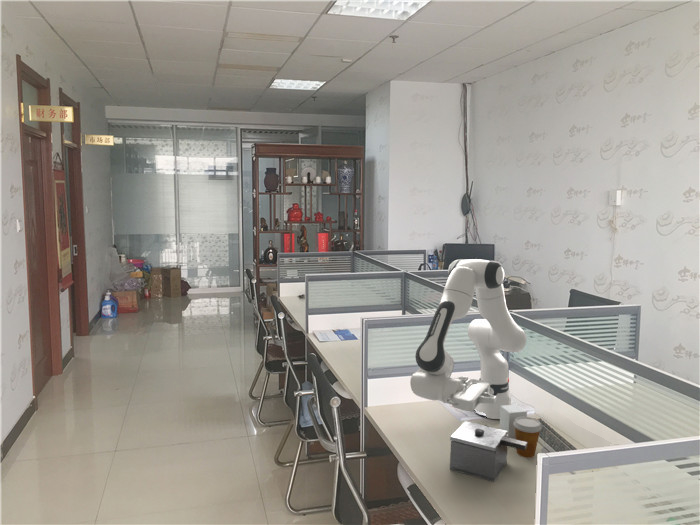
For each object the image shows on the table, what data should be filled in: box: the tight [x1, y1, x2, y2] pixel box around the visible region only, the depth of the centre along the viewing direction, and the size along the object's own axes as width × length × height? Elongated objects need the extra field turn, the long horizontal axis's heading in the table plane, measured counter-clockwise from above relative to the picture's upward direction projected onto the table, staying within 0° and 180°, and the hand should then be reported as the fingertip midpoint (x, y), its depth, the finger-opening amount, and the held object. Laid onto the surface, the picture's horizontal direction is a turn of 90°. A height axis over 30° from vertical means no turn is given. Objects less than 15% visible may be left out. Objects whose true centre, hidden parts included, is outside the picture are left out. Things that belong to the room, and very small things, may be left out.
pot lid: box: [449, 420, 527, 451], centre depth 189 cm, size 15×23×2 cm, turn 60°
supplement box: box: [498, 404, 528, 439], centre depth 212 cm, size 7×7×13 cm
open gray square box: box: [449, 435, 509, 483], centre depth 192 cm, size 15×15×10 cm
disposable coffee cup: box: [514, 416, 543, 459], centre depth 201 cm, size 10×10×12 cm
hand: (495, 400), depth 187 cm, fingers closed
